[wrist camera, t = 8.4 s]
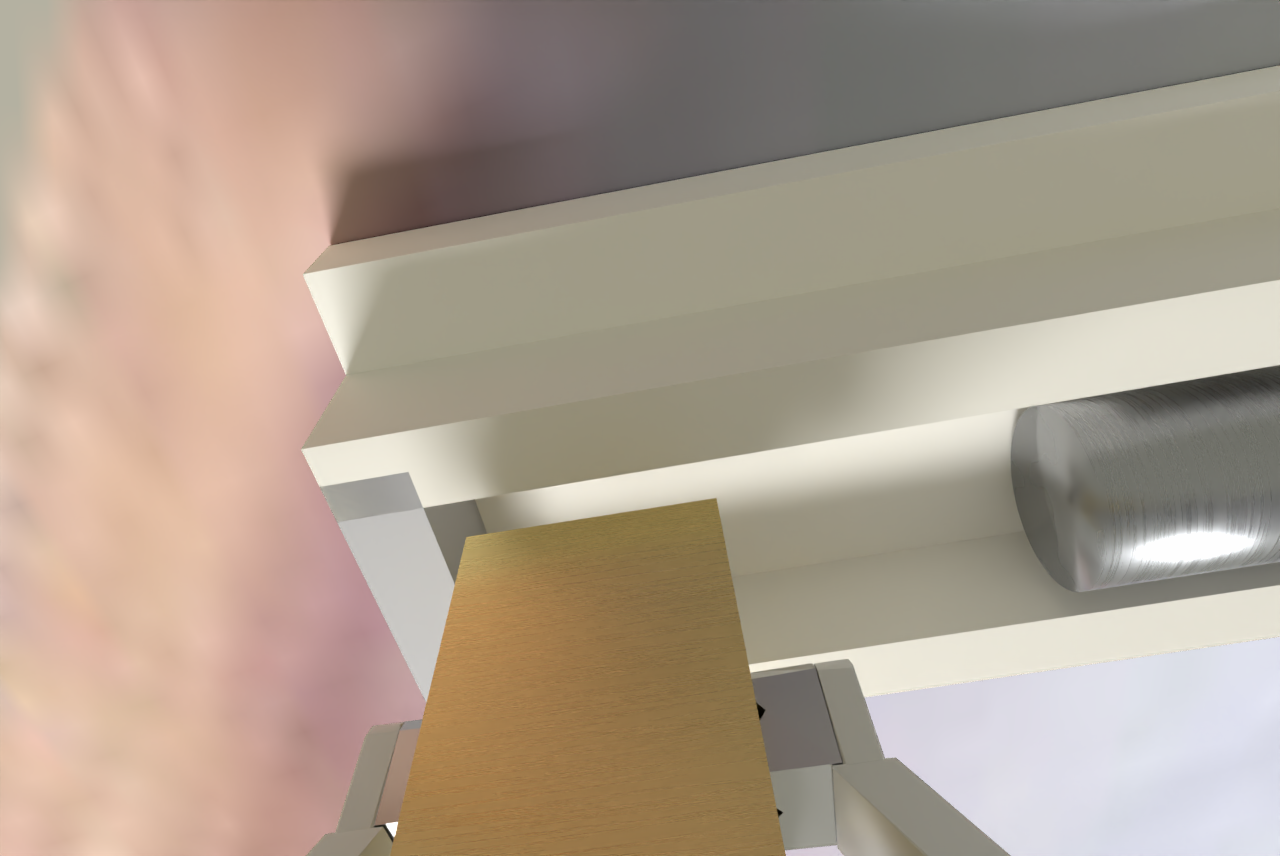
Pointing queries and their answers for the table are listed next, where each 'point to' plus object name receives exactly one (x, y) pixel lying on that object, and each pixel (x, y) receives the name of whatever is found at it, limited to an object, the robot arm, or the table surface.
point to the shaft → (1152, 480)
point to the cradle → (819, 376)
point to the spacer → (593, 699)
